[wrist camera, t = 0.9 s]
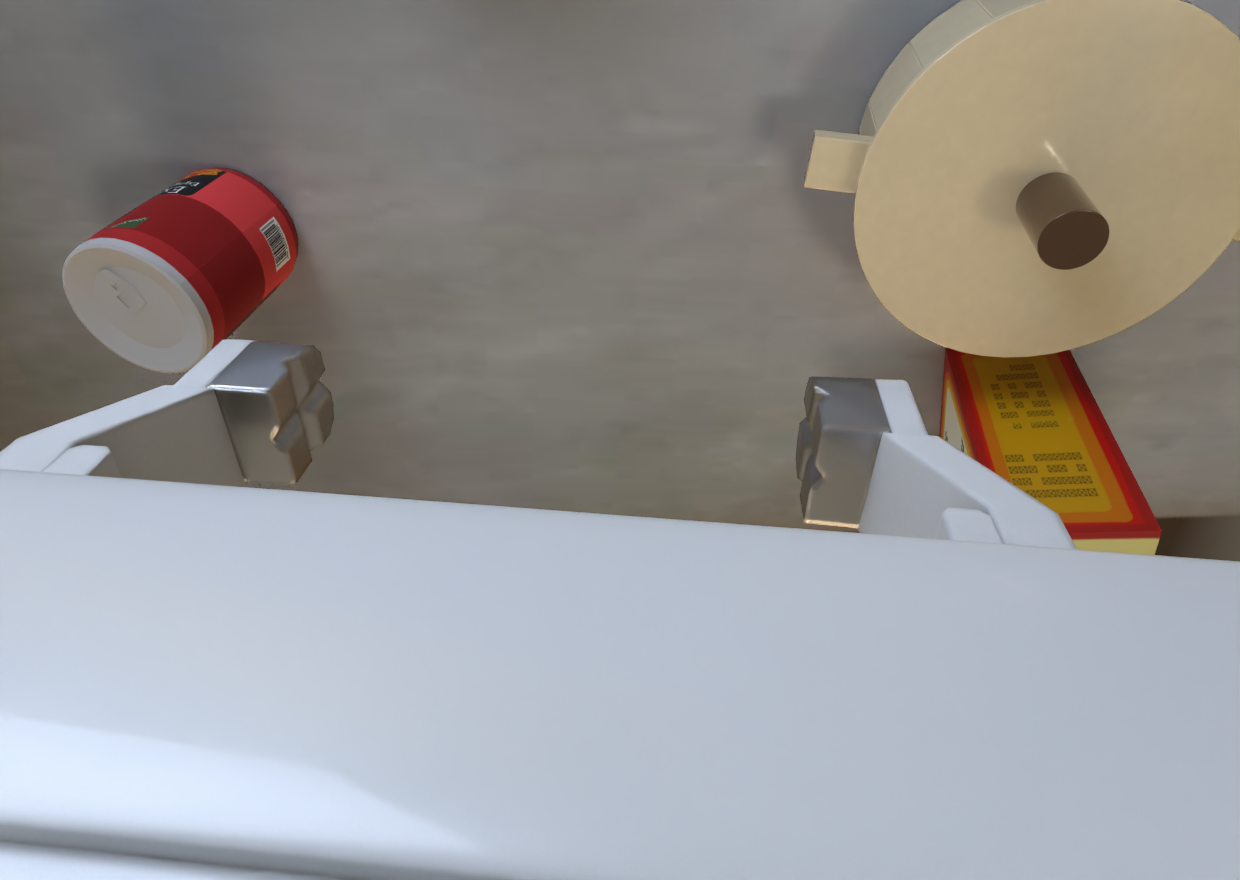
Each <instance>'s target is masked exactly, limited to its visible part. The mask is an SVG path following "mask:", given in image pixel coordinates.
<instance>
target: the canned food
mask: <svg viewBox="0 0 1240 880" xmlns="http://www.w3.org/2000/svg"><path fill="white" fill-rule="evenodd" d="M297 255H298V239H297V233H296V230H295V227H294V224H293V222H292V220H291V218H290V216H289V215H288V213H287V211H286V210H285V208H284V207H283V206H282V204H281V203H280V201H279V200H278V199H277V198H276V197H275V196H274V195H273V194H272V193H271V192H270V191H269V190H268V189H266V188H265V187H264V186H263V185H261V184H260V183H259V182H257V181H255V180H254V179H252V178H251V177H249V176H247V175H244V174H242V173H240V172H237V171H233V170H229V169H222V168H212V169H204V170H199V171H195V172H193V173H191V174H189V175H187V176H185V177H184V178H182V179H181V180H179V181H178V182H176V183H174V184H173V185H171V186H170V187H168V188H167V189H165V190H163V191H162V192H160V193H159V194H157V195H156V196H154V197H152V198H151V199H149V200H148V201H146V202H145V203H143V204H141V205H140V206H138V207H137V208H135V209H134V210H132V211H130V212H129V213H127V214H126V215H124V216H123V217H121V218H119V219H118V220H116V221H115V222H113V223H112V224H110V225H108V226H107V227H105V228H104V229H102V230H101V231H99V232H98V233H96V234H94V235H93V236H92V237H91V238H89V239H88V240H86V241H84V242H83V243H81V244H80V245H79V246H78V247H77V248H76V249H75V250H73V252H72V253H71V254H70V255H69V256H68V257H67V258H66V261H65V263H64V265H63V272H62V280H63V286H64V290H65V293H66V296H67V299H68V301H69V303H70V305H71V307H72V308H73V310H74V312H75V314H76V315H77V317H78V318H79V319H80V321H81V322H82V323H83V325H84V326H85V327H86V328H87V329H88V330H89V331H90V332H91V333H92V334H93V335H94V337H95V338H97V339H98V340H99V341H100V342H101V343H102V344H104V345H105V346H106V347H107V348H109V349H110V350H111V351H113V352H114V353H116V354H117V355H119V356H120V357H122V358H124V359H126V360H128V361H130V362H131V363H133V364H136V365H138V366H141V367H143V368H146V369H149V370H153V371H157V372H163V373H179V372H184V371H187V370H190V369H192V368H193V367H194V366H195V365H196V364H197V363H198V362H199V361H200V360H202V359H203V358H204V357H205V356H206V355H207V354H208V353H209V352H210V351H211V350H212V349H213V348H214V347H216V346H217V345H218V344H219V343H220V342H221V341H222V340H226V339H227V338H228V337H229V336H230V335H231V334H232V333H233V332H234V331H235V330H236V329H237V328H238V327H239V326H240V325H241V324H242V323H243V322H244V321H245V320H246V319H247V318H248V317H249V316H250V315H251V314H252V313H253V312H254V311H255V310H256V309H257V308H258V307H259V306H260V305H261V304H262V303H263V302H264V301H265V300H266V299H267V298H268V297H269V296H270V295H271V294H272V293H273V292H274V291H275V290H276V289H277V288H278V287H279V286H280V285H281V284H282V283H283V282H284V281H285V280H286V279H287V278H288V276H289V275H290V273H291V272H292V270H293V267H294V264H295V261H296V258H297Z"/></svg>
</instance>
